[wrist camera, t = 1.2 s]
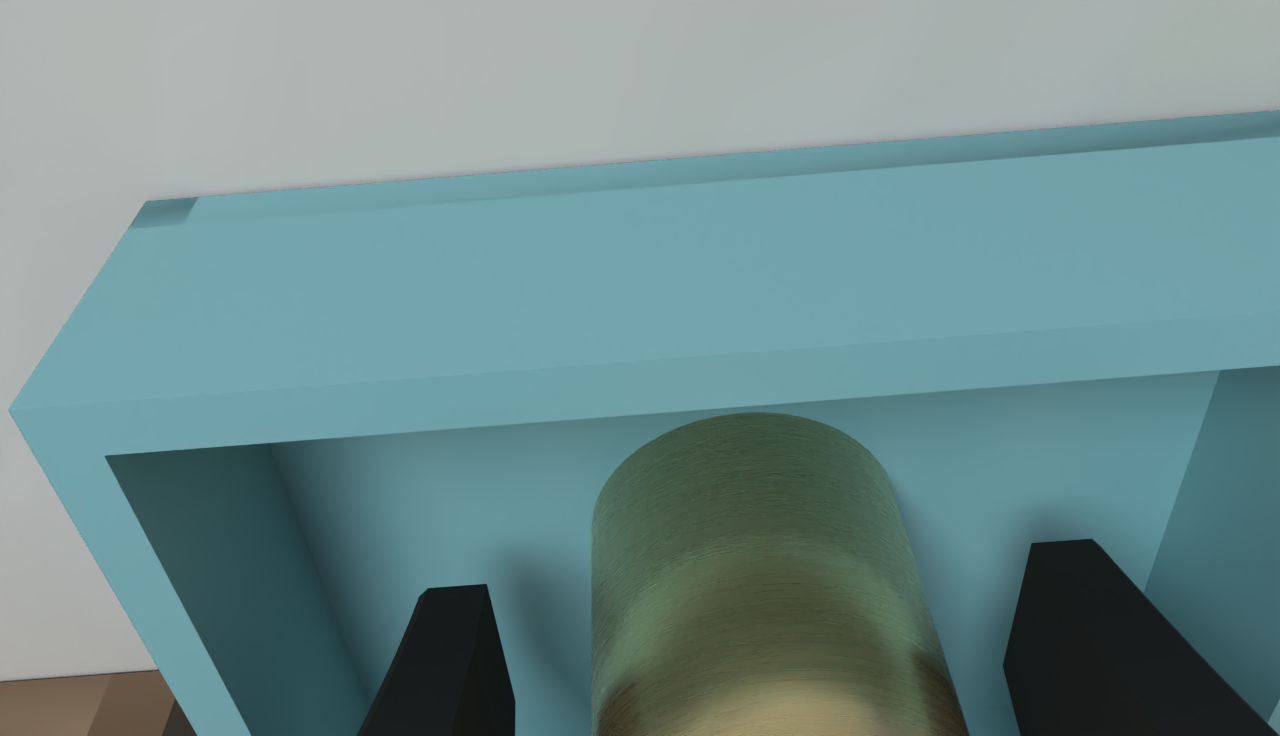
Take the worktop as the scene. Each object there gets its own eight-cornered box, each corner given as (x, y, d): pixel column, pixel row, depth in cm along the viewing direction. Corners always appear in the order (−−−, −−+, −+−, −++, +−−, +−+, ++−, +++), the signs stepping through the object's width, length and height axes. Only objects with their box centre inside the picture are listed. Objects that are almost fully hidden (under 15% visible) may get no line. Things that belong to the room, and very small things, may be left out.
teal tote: (1121, 686, 15) (1216, 896, 13) (367, 741, 16) (326, 958, 13) (1328, 106, 10) (1562, 289, 7) (145, 201, 10) (8, 409, 8)
